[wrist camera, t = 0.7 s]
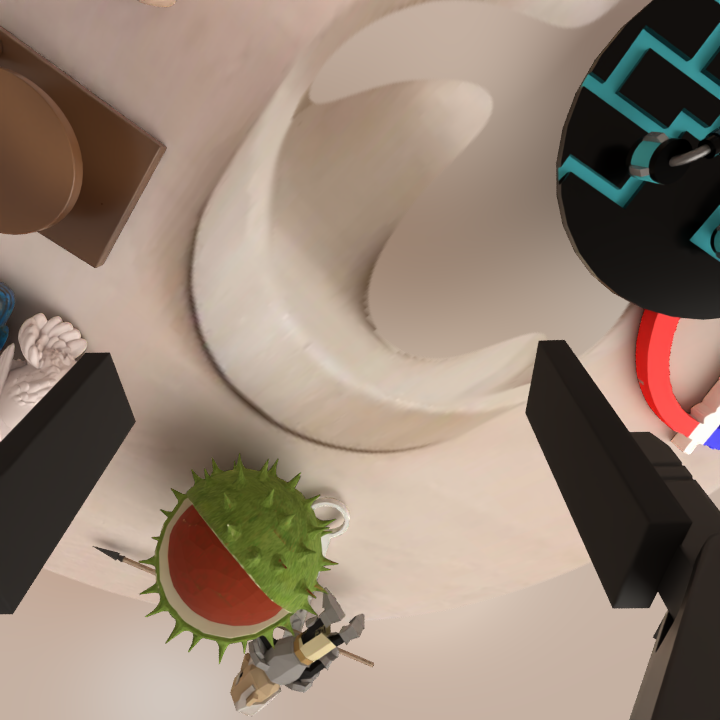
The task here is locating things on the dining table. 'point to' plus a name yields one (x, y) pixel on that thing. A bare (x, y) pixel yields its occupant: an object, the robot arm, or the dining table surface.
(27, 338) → the figurine
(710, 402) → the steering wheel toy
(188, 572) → the chestnut
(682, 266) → the platform
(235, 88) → the dining table surface
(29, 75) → the cup stand
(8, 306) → the figurine
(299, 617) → the wrench
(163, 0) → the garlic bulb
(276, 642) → the toy
